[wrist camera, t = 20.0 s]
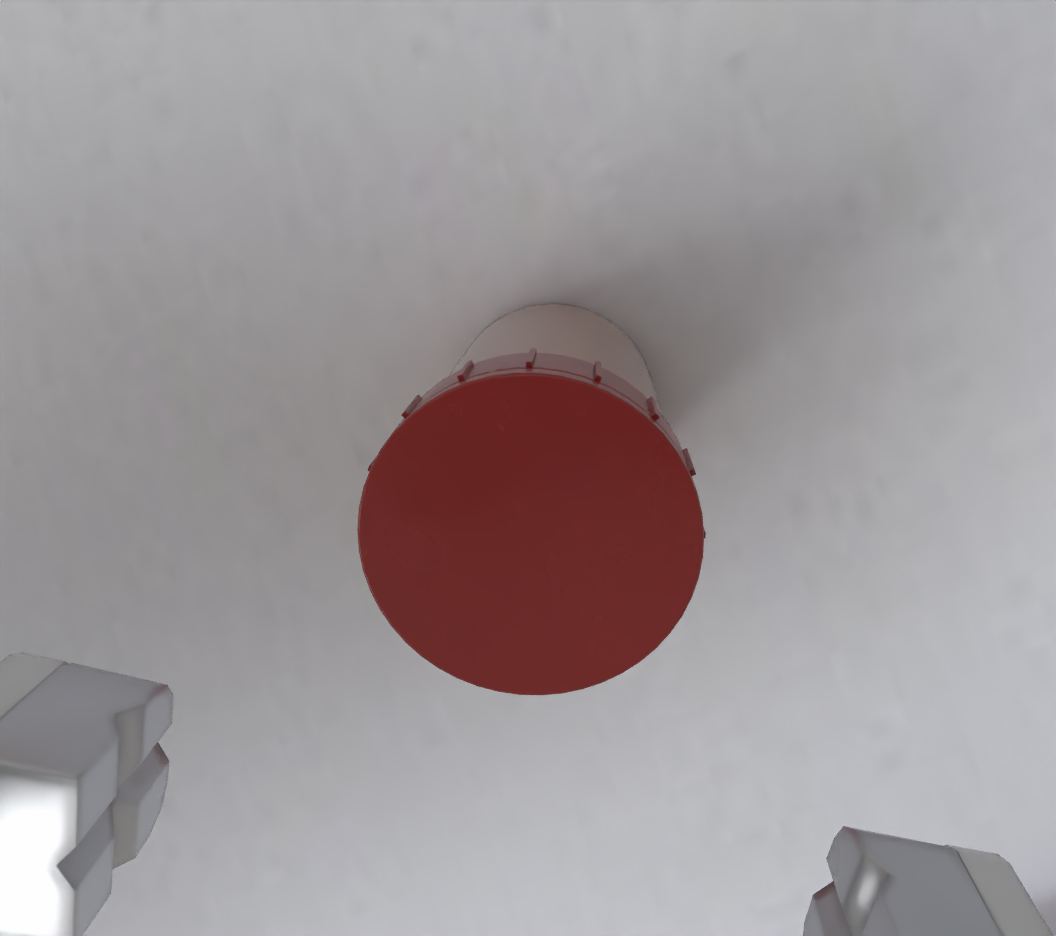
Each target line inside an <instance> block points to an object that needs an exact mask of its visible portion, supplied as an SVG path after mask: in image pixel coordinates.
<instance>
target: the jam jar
mask: <svg viewBox="0 0 1056 936" xmlns="http://www.w3.org/2000/svg"><path fill="white" fill-rule="evenodd" d="M531 348H536V353H549V354H557V355H564V356H569V357H572V358H576V359H580V360H584V361H587V362H590V363H592V364H595V361H599V362H601V367H602V368H604V369H606V370H608V371H610V372H612V373H613V374H615V375H617V376H619V377H620V378H622V379H624V380H626V381H627V382H628V383H629V384H631V385H632V386H633V387H635V388H636V389H637V390H639V391H640V392H641V393H642V394H643V395H644V396H645V397H646V398H647V399H648V398H649V397H651V396H652V397H653V398H654V399H655V402H656V405H657V409H658V410H659V411H660V408H659V405H658V401H657V398H656V394H655V391H654V387H653V384H652V381H651V377H650V374H649V371H648V369H647V366H646V363H645V361H644V359H643V358H642V356H641V354H640V352H639V350H638V349H637V348H636V346H635V345H634V344H633V342H632V341H631V340H630V338H629V337H628V336H627V335H626V334H625V333H624V332H623V331H622V330H621V329H619V328H618V327H617V326H615V325H614V324H613V323H612V322H610V321H609V320H607V319H605V318H603V317H602V316H600V315H598V314H596V313H593V312H591V311H589V310H586V309H583V308H579V307H575V306H570V305H563V304H542V305H534V306H530V307H526V308H522V309H519V310H516V311H514V312H512V313H509V314H507V315H505V316H503V317H502V318H500V319H498V320H497V321H495V322H494V323H492V324H491V325H490V326H488V327H487V328H486V329H485V330H484V331H483V332H482V333H481V334H480V335H479V336H478V337H477V338H476V339H475V340H474V342H473V343H472V344H471V346H470V347H469V348H468V350H467V351H466V352H465V354H464V355H463V357H462V358H461V359H460V361H459V362H458V364H457V365H456V366H455V368H454V369H453V371H452V372H451V373H450V375H452V374H454V373H455V372H457V371H459V370H461V369H462V368H463V367H464V365H465V364H466V362H468V361H470V360H472V362H473V364H475V363H477V362H480V361H483V360H486V359H490V358H494V357H498V356H502V355H510V354H517V353H529V352H530V349H531ZM450 375H449V376H450ZM660 413H661V412H660Z"/></svg>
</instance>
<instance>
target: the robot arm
mask: <svg viewBox="0 0 1056 936" xmlns="http://www.w3.org/2000/svg"><path fill="white" fill-rule="evenodd" d="M172 711H173V693H172V692H171V690H170V689H169V687H168V685H165V684H161V683H157V682H152V681H148V680H144V679H139V678H135V677H131V676H126V675H122V674H118V673H113V672H109V671H105V670H100V669H96V668H92V667H87V666H83V665H79V664H74V663H71V664H69V663H67V662H65V661H60V660H56V659H51V658H46V657H41V656H36V655H32V654H27V653H20V654H13V655H9V656H8V657H6V658H5V659H4V660H3V661H1V662H0V936H82V935H83V934H84V932H85V931H86V929H87V928H88V926H89V925H90V923H91V922H92V920H93V919H94V918H95V916H96V915H97V913H98V912H99V910H100V909H101V907H102V906H103V904H104V903H105V901H106V900H107V899H108V897H109V896H110V894H111V885H112V869H114V868H116V867H118V866H120V865H122V864H124V863H126V862H128V861H130V860H132V859H134V858H135V857H136V856H137V854H138V853H139V851H140V849H141V848H142V846H143V845H144V843H145V842H146V840H147V839H148V837H149V836H150V833H151V831H152V828H153V826H154V824H155V821H156V819H157V817H158V814H159V812H160V809H161V807H162V803H163V799H164V795H165V790H166V786H167V781H168V770H169V760H168V758H167V756H166V755H165V753H164V751H163V750H162V748H161V747H160V745H159V743H158V741H159V739H160V738H161V737H162V735H163V734H164V733H165V732H166V730H167V729H168V728H169V726H170V725H171V724H172ZM826 859H827V862H828V865H829V869H830V872H831V875H832V878H833V882H831V883H830V884H828V885H827V886H826V887H824V888H823V889H821V890H820V891H818V892H817V893H815V894H814V895H813V897H812V900H811V903H810V906H809V909H808V913H807V916H806V919H805V922H804V931H803V936H1053V934H1052V933H1051V931H1050V929H1049V928H1048V926H1047V924H1046V923H1045V921H1044V919H1043V918H1042V916H1041V914H1040V913H1039V911H1038V909H1037V908H1036V906H1035V904H1034V903H1033V901H1032V899H1031V898H1030V896H1029V894H1028V893H1027V891H1026V889H1025V888H1024V886H1023V884H1022V883H1021V881H1020V879H1019V878H1018V876H1017V875H1016V873H1015V871H1014V870H1013V868H1012V866H1011V865H1010V863H1009V862H1007V861H1006V860H1005V859H1004V858H1002V857H1001V856H1000V855H998V854H995V853H990V852H984V851H978V850H973V849H967V848H961V847H956V846H950V845H945V846H941V845H936V844H931V843H926V842H921V841H916V840H911V839H906V838H901V837H896V836H891V835H886V834H881V833H876V832H871V831H865V830H860V829H855V828H850V827H845V826H843V827H842V829H841V830H840V831H839V833H838V834H837V835H836V836H835V838H834V840H833V843H832V845H831V848H830V851H829V853H828V856H827V858H826Z"/></svg>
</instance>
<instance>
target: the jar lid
mask: <svg viewBox="0 0 1056 936" xmlns="http://www.w3.org/2000/svg"><path fill="white" fill-rule="evenodd" d="M402 416H403V417H404V419H403V420H402V421H401V423H400V424H399V425H398V427H397V428H396V429H395V430H394V432H393V433H392V435H391V436H390V437H389V439H388V440H387V441H386V443H385V444H384V445H383V447H382V448H381V450H380V451H379V453H378V455H377V456H376V458H375V459H374V460H373V462H372V463H371V464H370V466H369V468H368V471H369V474H368V477H367V479H366V482H365V485H364V487H363V492H362V496H361V501H360V506H359V515H358V529H357V530H358V544H359V553H360V558H361V562H362V567H363V571H364V574H365V577H366V580H367V583H368V585H369V588H370V591H371V593H372V595H373V597H374V599H375V601H376V603H377V605H378V606H379V608H380V610H381V612H382V613H383V615H384V616H385V617H386V619H387V620H388V622H389V623H390V625H391V626H392V627H393V629H394V630H395V631H396V632H397V633H398V634H399V635H400V636H401V638H402V639H403V640H404V641H405V642H406V643H407V644H408V645H409V646H410V647H412V648H413V649H414V650H415V651H416V652H417V653H418V654H419V655H421V656H422V657H423V658H425V659H426V660H428V661H429V662H430V663H432V664H433V665H435V666H436V667H438V668H439V669H441V670H443V671H445V672H447V673H449V674H450V675H452V676H454V677H456V678H458V679H461V680H463V681H466V682H468V683H471V684H473V685H476V686H479V687H483V688H487V689H490V690H494V691H498V692H505V693H512V694H519V695H549V694H560V693H566V692H571V691H576V690H580V689H584V688H587V687H590V686H593V685H596V684H599V683H602V682H605V681H607V680H609V679H611V678H613V677H615V676H617V675H619V674H621V673H623V672H625V671H626V670H628V669H629V668H631V667H633V666H634V665H636V664H637V663H639V662H640V661H641V660H643V659H644V658H645V657H646V656H647V655H649V654H650V653H651V652H652V651H653V650H655V649H656V648H657V647H658V646H659V644H660V643H661V642H662V641H663V640H664V639H665V638H666V637H667V636H668V635H669V634H670V633H671V631H672V630H673V628H674V627H675V625H676V624H677V623H678V621H679V620H680V618H681V617H682V615H683V613H684V611H685V610H686V608H687V606H688V604H689V602H690V600H691V598H692V595H693V593H694V590H695V587H696V584H697V581H698V578H699V574H700V569H701V564H702V559H703V547H704V538H705V534H706V533H705V530H704V527H703V517H702V511H701V507H700V502H699V498H698V494H697V490H696V487H695V485H694V481H693V478H692V476H693V475H696V473H695V470H694V467H693V464H692V461H691V458H690V455H689V453H688V450H687V448H686V449H684V450H682V448H681V445H680V443H679V441H678V439H677V437H676V435H675V434H674V432H673V430H672V428H671V426H670V425H669V423H668V422H667V421H666V419H665V418H664V417H663V415H662V414H661V413H660V411H659V410H658V409H657V405H656V402H655V399H654V398H653V397H652V396H651V397H649V398H648V399H647V398H646V397H645V396H644V395H643V394H642V393H641V392H640V391H639V390H637V389H636V388H635V387H633V386H632V385H631V384H629V383H628V382H627V381H626V380H624V379H622V378H620V377H619V376H617V375H615V374H613V373H612V372H610V371H608V370H606V369H604V368H602V367H601V362H599V361H595V364H592V363H590V362H587V361H584V360H580V359H576V358H572V357H569V356H564V355H557V354H549V353H536V348H531V349H530V352H529V353H517V354H510V355H502V356H498V357H494V358H490V359H486V360H483V361H480V362H477V363H475V364H473V362H472V360H470V361H468V362H466V364H465V365H464V367H463V368H462V369H461V370H459V371H457V372H455V373H454V374H452V375H450V376H448V377H447V378H445V379H443V380H442V381H441V382H439V383H438V384H437V385H436V386H434V387H433V388H432V389H430V390H429V391H428V392H427V393H426V394H425V395H424V396H423V397H421V396H420V395H417V396H416V397H415V399H414V400H413V401H412V402H411V404H410V405H409V406H408V407H407V409H406V410H405V411H404V412H403V414H402Z"/></svg>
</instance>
